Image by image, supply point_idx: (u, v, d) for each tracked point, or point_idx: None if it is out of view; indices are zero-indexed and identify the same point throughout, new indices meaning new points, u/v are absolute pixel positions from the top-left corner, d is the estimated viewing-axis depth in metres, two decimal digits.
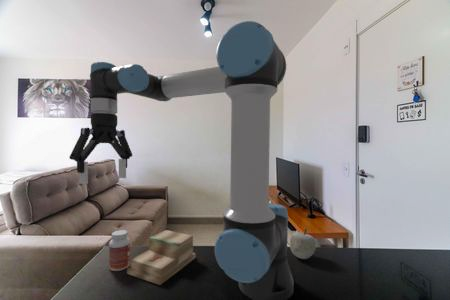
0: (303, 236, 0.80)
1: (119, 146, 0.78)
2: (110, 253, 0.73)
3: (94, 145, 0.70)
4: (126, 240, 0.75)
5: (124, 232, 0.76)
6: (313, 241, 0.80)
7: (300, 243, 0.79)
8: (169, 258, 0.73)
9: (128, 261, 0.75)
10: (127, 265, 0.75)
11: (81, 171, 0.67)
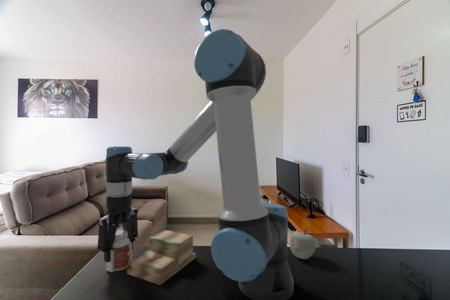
0: (303, 236, 0.80)
1: (129, 227, 0.78)
2: None
3: (114, 231, 0.73)
4: (126, 240, 0.75)
5: (124, 232, 0.76)
6: (313, 241, 0.80)
7: (300, 243, 0.79)
8: (169, 258, 0.73)
9: (128, 261, 0.75)
10: (127, 265, 0.75)
11: (108, 260, 0.71)
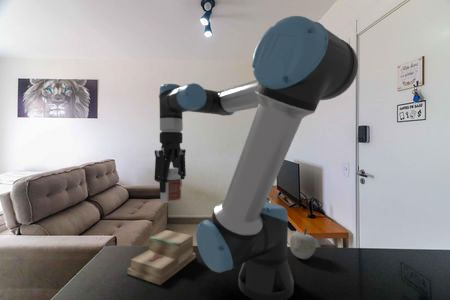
0: (303, 236, 0.80)
1: (179, 164, 0.82)
2: None
3: (168, 164, 0.77)
4: (178, 175, 0.79)
5: None
6: (313, 241, 0.80)
7: (300, 243, 0.79)
8: (169, 258, 0.73)
9: (180, 195, 0.79)
10: (179, 198, 0.79)
11: (163, 191, 0.75)
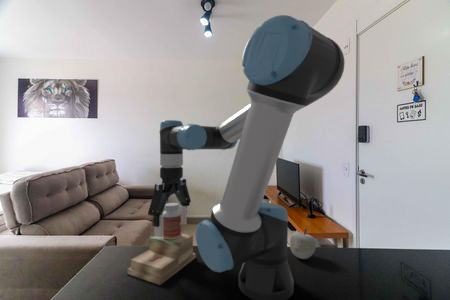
0: (303, 236, 0.80)
1: (182, 195, 0.83)
2: (164, 223, 0.78)
3: (166, 199, 0.76)
4: (178, 211, 0.80)
5: (176, 204, 0.80)
6: (313, 241, 0.80)
7: (300, 243, 0.79)
8: (169, 258, 0.73)
9: (180, 231, 0.80)
10: (179, 235, 0.79)
11: (157, 225, 0.73)
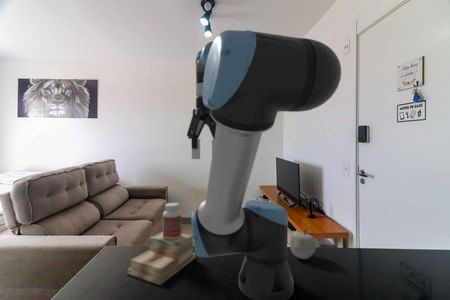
0: (303, 236, 0.80)
1: (215, 127, 0.86)
2: (164, 223, 0.78)
3: (203, 125, 0.78)
4: (178, 211, 0.80)
5: (176, 204, 0.80)
6: (313, 241, 0.80)
7: (300, 243, 0.79)
8: (169, 258, 0.73)
9: (180, 231, 0.80)
10: (179, 235, 0.79)
11: (195, 147, 0.75)
